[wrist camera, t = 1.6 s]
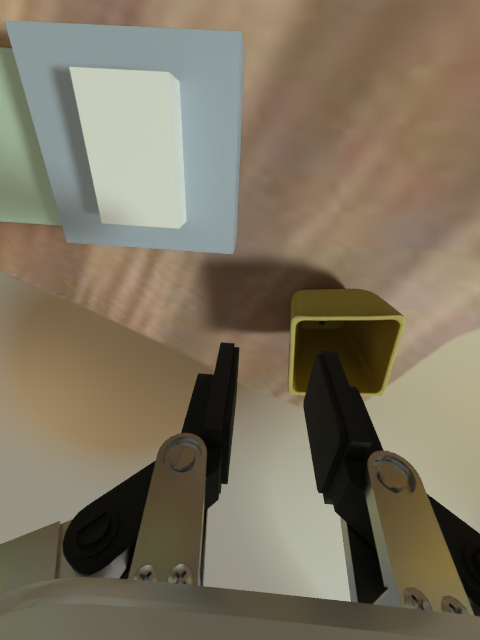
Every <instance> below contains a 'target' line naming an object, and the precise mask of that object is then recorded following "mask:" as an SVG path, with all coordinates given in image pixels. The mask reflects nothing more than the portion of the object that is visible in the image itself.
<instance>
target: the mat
mask: <svg viewBox="0 0 480 640" xmlns="http://www.w3.org/2000/svg"><path fill="white" fill-rule="evenodd" d="M0 221H3V222H18V223H32V224H46V225H61V226H62V223H61V219H60V216H59V212H58V208H57V205H56V201H55V198H54V194H53V191H52V187H51V184H50V180H49V177H48V173H47V170H46V166H45V163H44V159H43V155H42V152H41V148H40V145H39V141H38V138H37V134H36V131H35V127H34V124H33V120H32V117H31V113H30V109H29V106H28V102H27V99H26V95H25V92H24V88H23V85H22V81H21V78H20V74H19V71H18V67H17V64H16V60H15V56H14V53H13V49H12V48H0Z"/></svg>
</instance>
